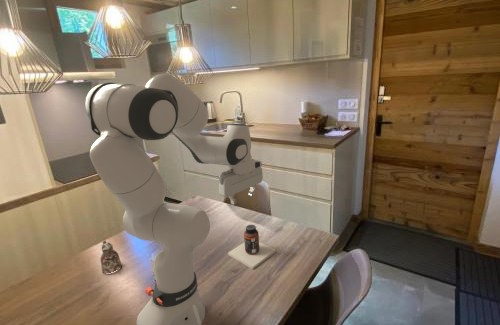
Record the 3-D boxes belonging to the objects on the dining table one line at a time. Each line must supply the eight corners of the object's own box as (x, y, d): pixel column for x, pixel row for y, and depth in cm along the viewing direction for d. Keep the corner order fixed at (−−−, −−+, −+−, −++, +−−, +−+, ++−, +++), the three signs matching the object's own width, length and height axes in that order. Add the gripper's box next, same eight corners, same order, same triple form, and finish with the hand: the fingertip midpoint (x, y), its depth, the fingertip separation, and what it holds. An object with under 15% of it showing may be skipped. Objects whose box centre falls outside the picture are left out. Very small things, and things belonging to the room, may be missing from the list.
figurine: (103, 277, 107) (96, 250, 103) (101, 267, 113) (94, 242, 109) (123, 269, 111) (116, 243, 107) (120, 260, 116) (113, 235, 113)
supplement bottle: (258, 255, 112) (256, 231, 109) (243, 254, 113) (241, 230, 110) (260, 247, 118) (259, 223, 114) (247, 246, 119) (245, 222, 115)
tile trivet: (252, 269, 106) (252, 267, 106) (228, 254, 116) (228, 252, 115) (275, 251, 116) (275, 249, 115) (251, 239, 125) (251, 237, 125)
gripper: (224, 175, 95) (227, 211, 99) (264, 160, 109) (265, 193, 113) (213, 171, 100) (216, 206, 104) (253, 158, 113) (254, 189, 117)
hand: (242, 199), depth 109 cm, fingers open, 8 cm apart
